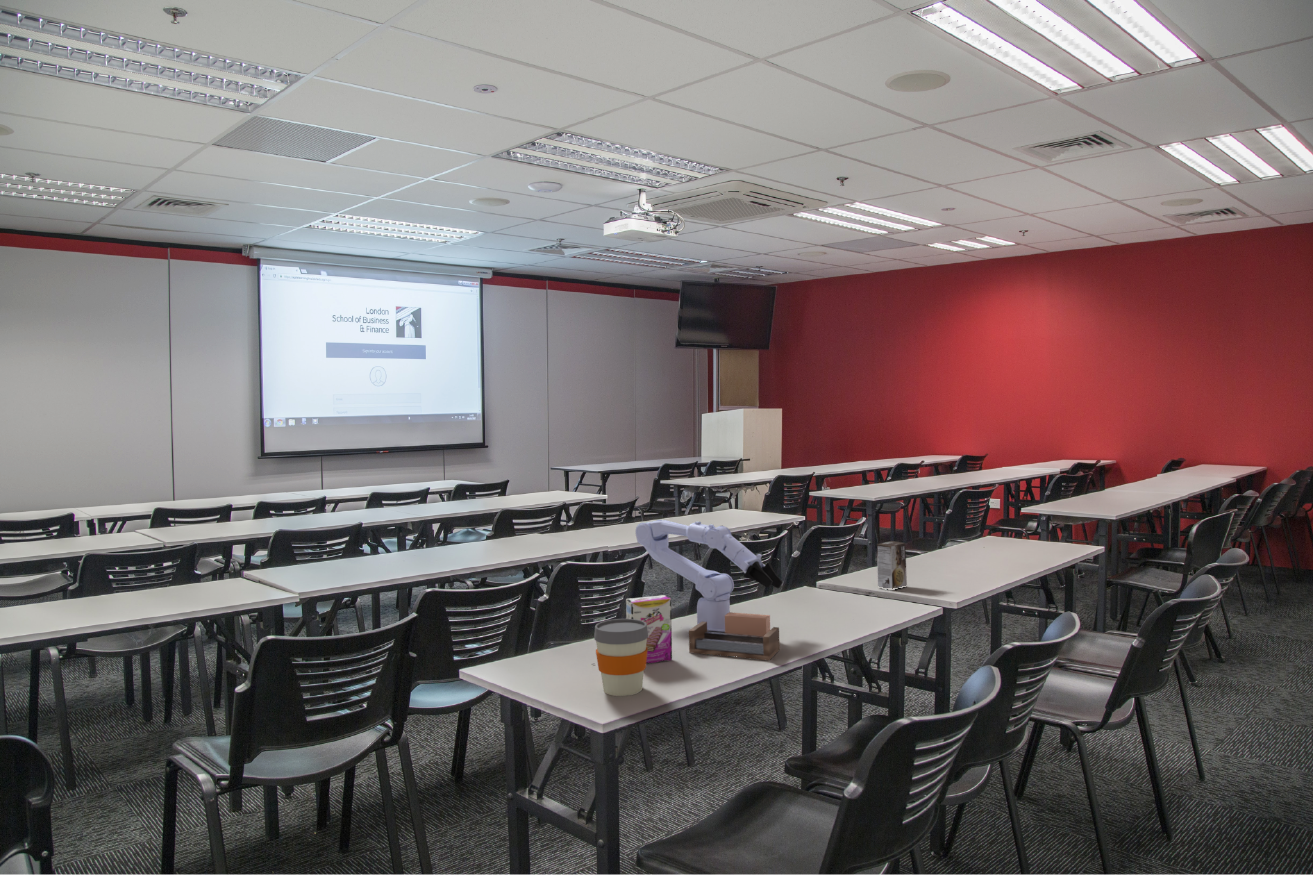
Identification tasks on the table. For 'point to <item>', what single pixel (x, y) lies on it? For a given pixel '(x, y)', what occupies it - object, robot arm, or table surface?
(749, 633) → the salmon orange block
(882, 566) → the coffee box
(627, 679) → the reusable coffee cup
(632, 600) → the candy bar box
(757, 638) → the track base
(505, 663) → the table surface
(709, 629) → the robot arm
